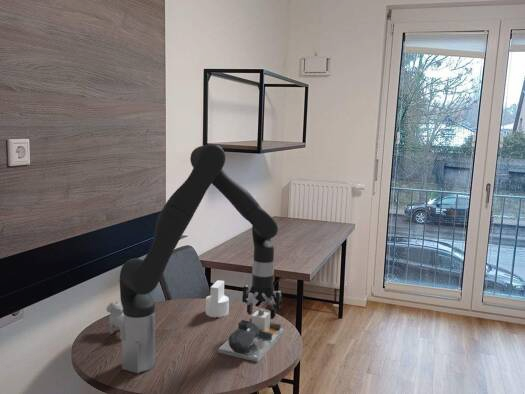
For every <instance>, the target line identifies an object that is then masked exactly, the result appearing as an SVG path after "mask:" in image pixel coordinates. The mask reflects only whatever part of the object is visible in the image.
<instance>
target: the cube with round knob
mask: <svg viewBox="0 0 525 394" xmlns="http://www.w3.org/2000/svg"><path fill="white" fill-rule="evenodd" d="M251 318H252V323H253V324H255V325H256V326H257V328H258V330H262V331H268V330H269V329H270V322H271V319H270V312H267V311H265V309H263V308H259V309H258V310H256V311H255V312H254V313H252V314H251Z"/></svg>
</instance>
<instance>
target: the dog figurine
mask: <svg viewBox="0 0 525 394" xmlns="http://www.w3.org/2000/svg"><path fill="white" fill-rule="evenodd" d="M106 312H108V313H110V315H109V319H108V322H109V328H110V332H109V334H110V335H111V334H112V335H113V334H114V333H115V328H118V330H119V340H120V341H122V339H124V314H123V307H122V304H121V301H118V300H117V301H115V303H114V302H110V303H109V304H108V305H107V306H106Z"/></svg>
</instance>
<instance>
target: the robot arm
mask: <svg viewBox="0 0 525 394" xmlns="http://www.w3.org/2000/svg"><path fill="white" fill-rule="evenodd" d="M189 158H190V159H189V160H190V164H191V167H192V170H191V173H190V174H189V175H188V177H187V179H186V180H184V182H183V183H181V185H180V186H179V187H178V188H177V189H176V190H175V191H174V192H173V193H172V195H171V196H170V197H169V198H168V200H166V203H165V204H164V206H163V208H162V209H161V211H160V213H159V215H158V217H157V219H156V223H155V230H154V236H153V242H152V245H151V247H150V249H149V250H148V252H147V254H146V256H145V257H144V259H141V258H138V257H133V258H129V259H128V260H126V262H124V263H123V264H122V266H121V267H120V268H121V269H120V272H119V292H120V296H119V297H120V304H121V307H122V312H123V314H124V337H123V339H122V340H121V370H125V371H128V372H132V373H133V374H134V373H135V374H140V373H141V372H147V371H149V370H151V369H152V368H154V366H155V365H156V362H155V361H156V357H155V356H156V355H155V353H156V350H155V348H156V346H155V345H156V344H155V341H156V334H155V333H156V329H155V328H156V324H155V323H156V322H155V321H156V318H155V317H156V313H155V312H156V311H155V310H156V309H155V308H156V304H155V301H154V299H153V298H152V297H151V294H150V293H151V292H153V291H154V290H155V289H156V288H157V286H158V285H159V282H160V281H161V278H162V277H163V274H164V272H165V269H166V267H167V265H168V262H169V260H170V258H171V256H172V254H173V252H174V251H175V249H176V247H177V245H178V243H179V241H180V239H181V238H182V235H183V234H184V232H185V231H186V230H187V227H188V225H189V224H190V222H191V220H192V219H193V217H194V215H195V214H196V211H197V209H198V208H199V206H200V204H201V202H202V200H203V198H204V197H205V195H206V193H207V191H208V190H209V188H210V186H214V188H216V189H217V190H218V191H219V192H220V193H221V194H222V196H224V197H225V198H226V199H227V200H228V202H229V203H230V204H231V205H232V206H233V207H234V208H235V209H236V211H237V212H238V213H239V214H240V215H241V216H242V218H244V219H245V220H246V221H248V222H249V223H250V224H251V225H252V226H251V232H252V233H251V234H252V240H253V247H254V248H253V263H252V271H251V272H252V273H251V276H252V278H251V285H249V284H246V285H244V286H243V288H242V298H241V299H242V300H241V301H242V302H243V303H245V304H246V313H247V315H248V316H250V315H251V316H252V315H253V310H254V309H253V307H254V303H253V302H254V301H255V300H256V301H261V302H264V303H267V305H268V306H269V307H270V312H269V313H270V320H274V318H275V317H276V316H277V310H279V309H280V308H282V302H283V301H282V299H283V297H282V291H281V290H275V289H274V276H275V275H274V274H275V264H274V257H275V248H274V245H273V244H272V240H271V239H273V238H274V237H275V236H277V234H278V231H279V228H278V223H277V222H276V221H275V219H274V218H273V217H272V216H271V215H270V214H269V213H268V212H267V211H266V210H265V209H264V208H263V207H262V206H261V205H260V204H259V202H258V201H257V200H256V199H255V197H254V196H253V195H252V194H251V193H250V192H249V191H248V190H247V189H246V188H245V187H244V186H243V185H241V184H240V183H239V182H237V181H236V180H235V179H233V178H232V177H231V176H230V175H229V174H228V173H227V172H226V171H225V169H224V166H225V163H226V153H225V151H224V149H223V147H222V146H220V145H218V144H213V143H210V144H205V145H200V146H198V147H195V148H194V149H193V150H192V152H191V153H190V157H189ZM250 292H251V294H252V295H251V297H250V298H249V293H250ZM273 295H274V297H273Z"/></svg>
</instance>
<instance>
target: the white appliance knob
mask: <svg viewBox="0 0 525 394" xmlns="http://www.w3.org/2000/svg"><path fill="white" fill-rule="evenodd" d="M229 302H230V298H229V297H228V296H227V295H225V280H220V279H219V280H216V281H215V282H214V283H213V284H212V285H211V286H210V295H208V296H206V297H205V315H206V316H208V317H210V318H216V317H218V318H224V317H226V315H227V316H228V315H229V311H230V309H229V306H230V304H229ZM223 316H224V317H223Z"/></svg>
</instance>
